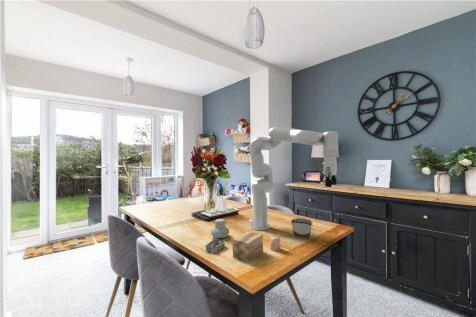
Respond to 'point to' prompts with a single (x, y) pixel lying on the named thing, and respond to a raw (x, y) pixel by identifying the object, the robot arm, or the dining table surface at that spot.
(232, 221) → the dining table surface
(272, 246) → the pink rounded capsule
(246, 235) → the tower top
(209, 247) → the egg carton
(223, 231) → the air freshener
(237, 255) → the tower base
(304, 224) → the food container
